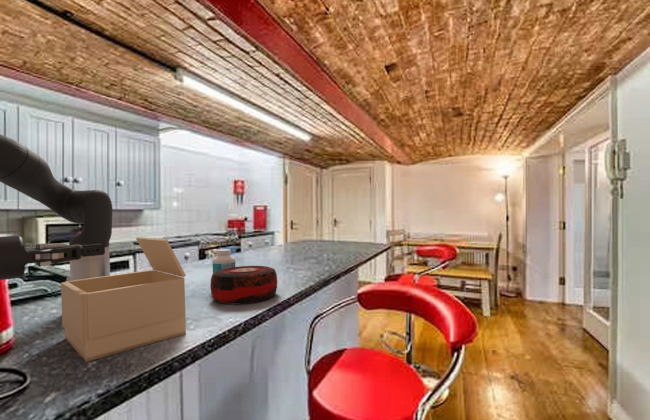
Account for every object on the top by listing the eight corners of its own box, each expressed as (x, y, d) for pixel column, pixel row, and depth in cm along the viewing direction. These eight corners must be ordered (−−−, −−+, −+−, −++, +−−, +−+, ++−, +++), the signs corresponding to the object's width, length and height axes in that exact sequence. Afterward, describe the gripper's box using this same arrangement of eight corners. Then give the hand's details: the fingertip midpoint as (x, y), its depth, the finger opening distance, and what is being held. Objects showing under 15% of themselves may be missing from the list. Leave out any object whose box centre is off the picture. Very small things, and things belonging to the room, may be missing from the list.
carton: (83, 363, 60) (81, 295, 60) (61, 338, 73) (60, 282, 73) (187, 334, 74) (185, 278, 74) (153, 317, 87) (151, 269, 87)
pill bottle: (223, 293, 111) (222, 251, 111) (208, 291, 115) (207, 250, 115) (240, 288, 117) (239, 249, 117) (225, 286, 121) (224, 248, 121)
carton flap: (164, 240, 72) (167, 239, 72) (135, 238, 83) (138, 236, 84) (183, 277, 74) (186, 275, 75) (153, 269, 86) (155, 268, 87)
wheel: (268, 306, 95) (284, 289, 115) (267, 275, 95) (283, 264, 115) (198, 306, 97) (226, 290, 116) (197, 276, 97) (225, 265, 117)
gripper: (-13, 238, 54) (112, 231, 67) (-16, 236, 63) (95, 230, 76) (-12, 286, 54) (113, 270, 67) (-15, 277, 63) (96, 264, 76)
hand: (103, 249), depth 71 cm, fingers closed
